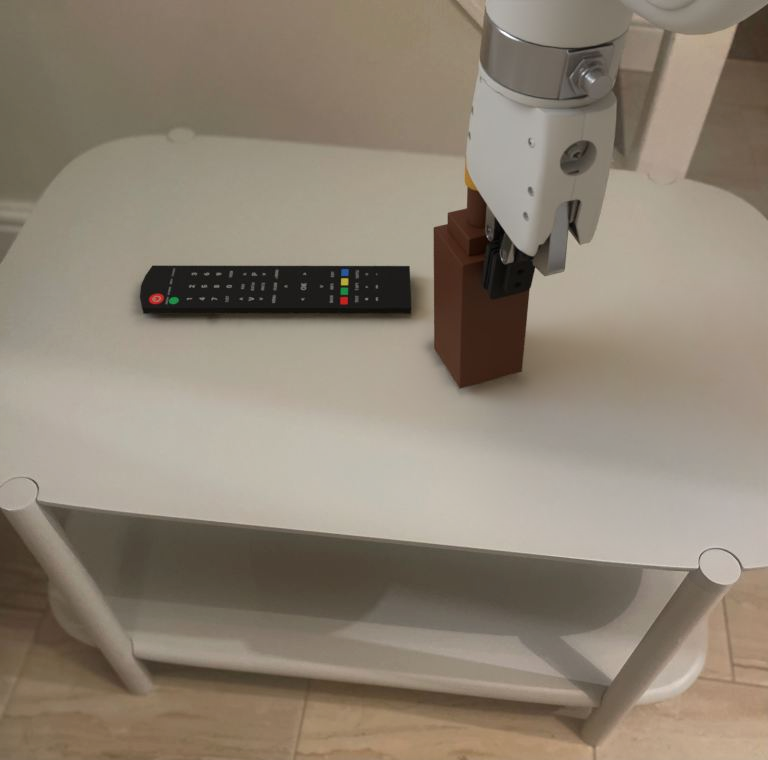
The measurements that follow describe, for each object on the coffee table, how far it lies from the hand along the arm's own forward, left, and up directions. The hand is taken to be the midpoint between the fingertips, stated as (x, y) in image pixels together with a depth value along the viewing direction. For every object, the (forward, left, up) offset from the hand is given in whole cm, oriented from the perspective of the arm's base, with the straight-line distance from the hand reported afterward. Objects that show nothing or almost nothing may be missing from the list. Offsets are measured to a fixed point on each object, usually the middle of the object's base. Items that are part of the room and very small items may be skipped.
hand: (505, 287), depth 57 cm
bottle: (+2, 0, -11) cm, 11 cm away
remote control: (+15, +14, -12) cm, 24 cm away
